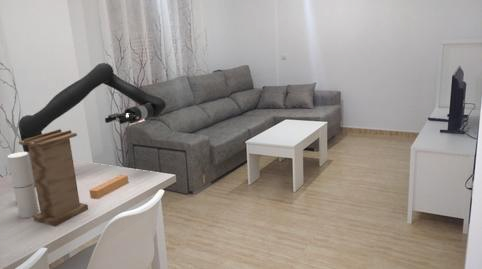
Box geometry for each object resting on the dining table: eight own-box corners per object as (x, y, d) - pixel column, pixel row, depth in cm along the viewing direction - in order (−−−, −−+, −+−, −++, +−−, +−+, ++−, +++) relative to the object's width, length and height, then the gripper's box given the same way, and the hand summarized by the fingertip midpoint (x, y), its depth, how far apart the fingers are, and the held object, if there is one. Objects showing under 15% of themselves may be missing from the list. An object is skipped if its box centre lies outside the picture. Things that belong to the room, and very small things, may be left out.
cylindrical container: (25, 219, 160) (13, 158, 154) (15, 215, 164) (3, 156, 157) (42, 211, 166) (31, 153, 159) (32, 208, 170) (21, 151, 163)
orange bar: (90, 198, 178) (89, 189, 177) (122, 182, 195) (121, 174, 194) (97, 199, 176) (96, 191, 175) (128, 183, 194) (127, 175, 193)
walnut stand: (34, 221, 158) (18, 139, 150) (67, 204, 172) (54, 128, 163) (55, 226, 153) (40, 141, 144) (88, 209, 167) (76, 130, 158)
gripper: (124, 105, 203) (100, 112, 189) (146, 107, 197) (123, 114, 183) (125, 120, 205) (102, 128, 191) (148, 122, 199) (125, 130, 185)
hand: (112, 121), depth 187 cm, fingers open, 8 cm apart
